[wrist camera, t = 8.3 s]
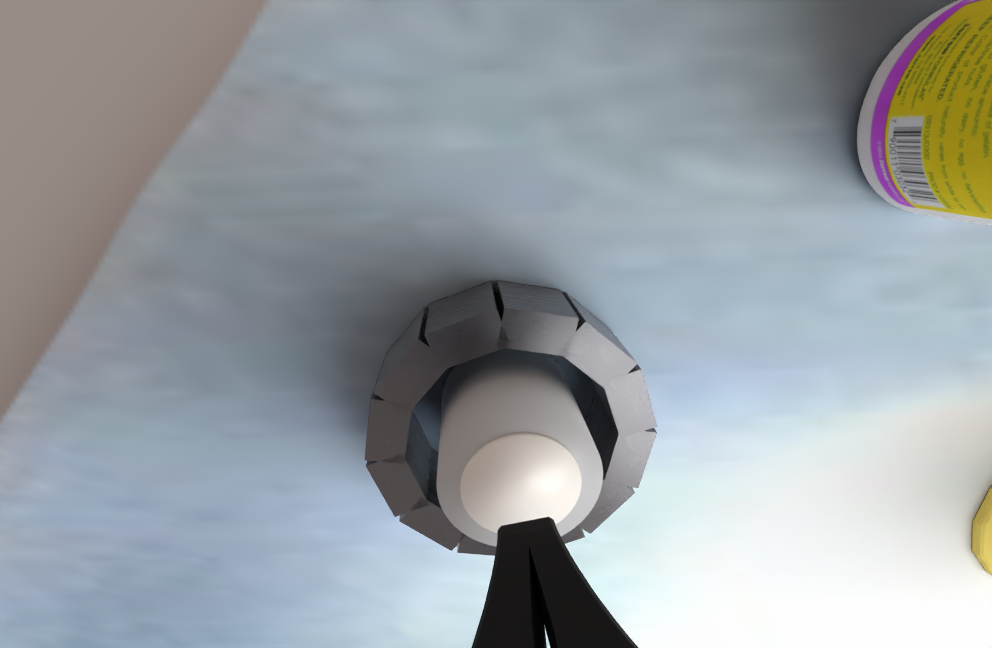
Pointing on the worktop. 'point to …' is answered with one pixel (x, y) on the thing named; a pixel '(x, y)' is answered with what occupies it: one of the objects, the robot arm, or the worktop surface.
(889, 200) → the supplement bottle
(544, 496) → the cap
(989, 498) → the candle
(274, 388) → the worktop surface
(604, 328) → the segmented grey ring
